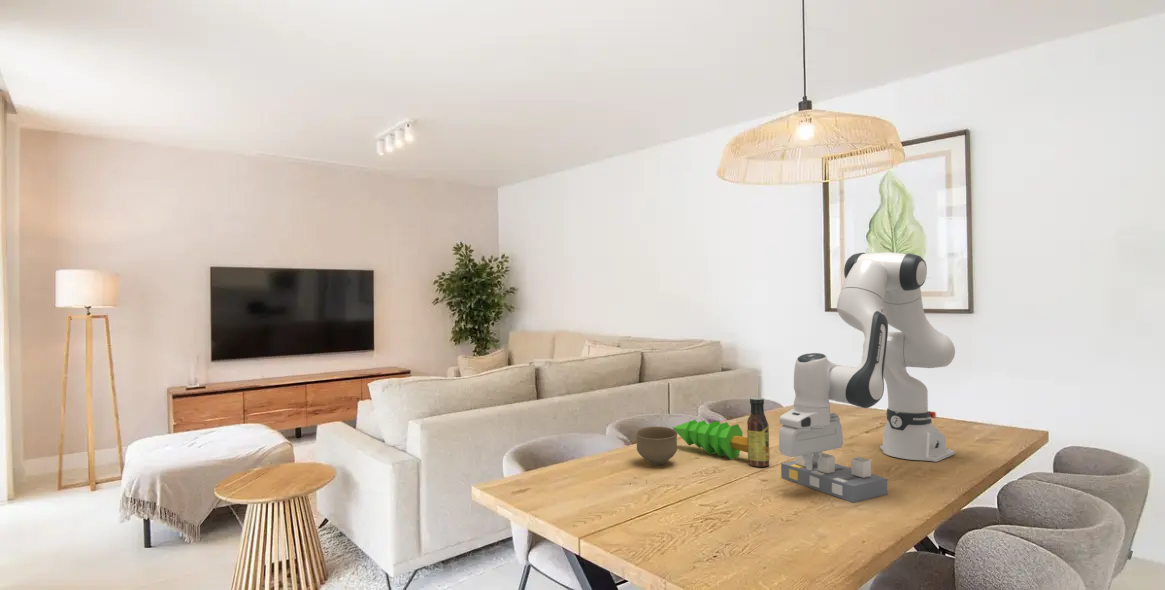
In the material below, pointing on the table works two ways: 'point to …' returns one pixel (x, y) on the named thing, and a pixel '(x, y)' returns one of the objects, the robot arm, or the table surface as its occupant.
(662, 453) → the bowl
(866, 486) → the console
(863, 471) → the knob
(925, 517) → the table surface
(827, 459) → the knob
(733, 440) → the decorative tree
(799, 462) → the knob
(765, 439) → the sauce bottle
